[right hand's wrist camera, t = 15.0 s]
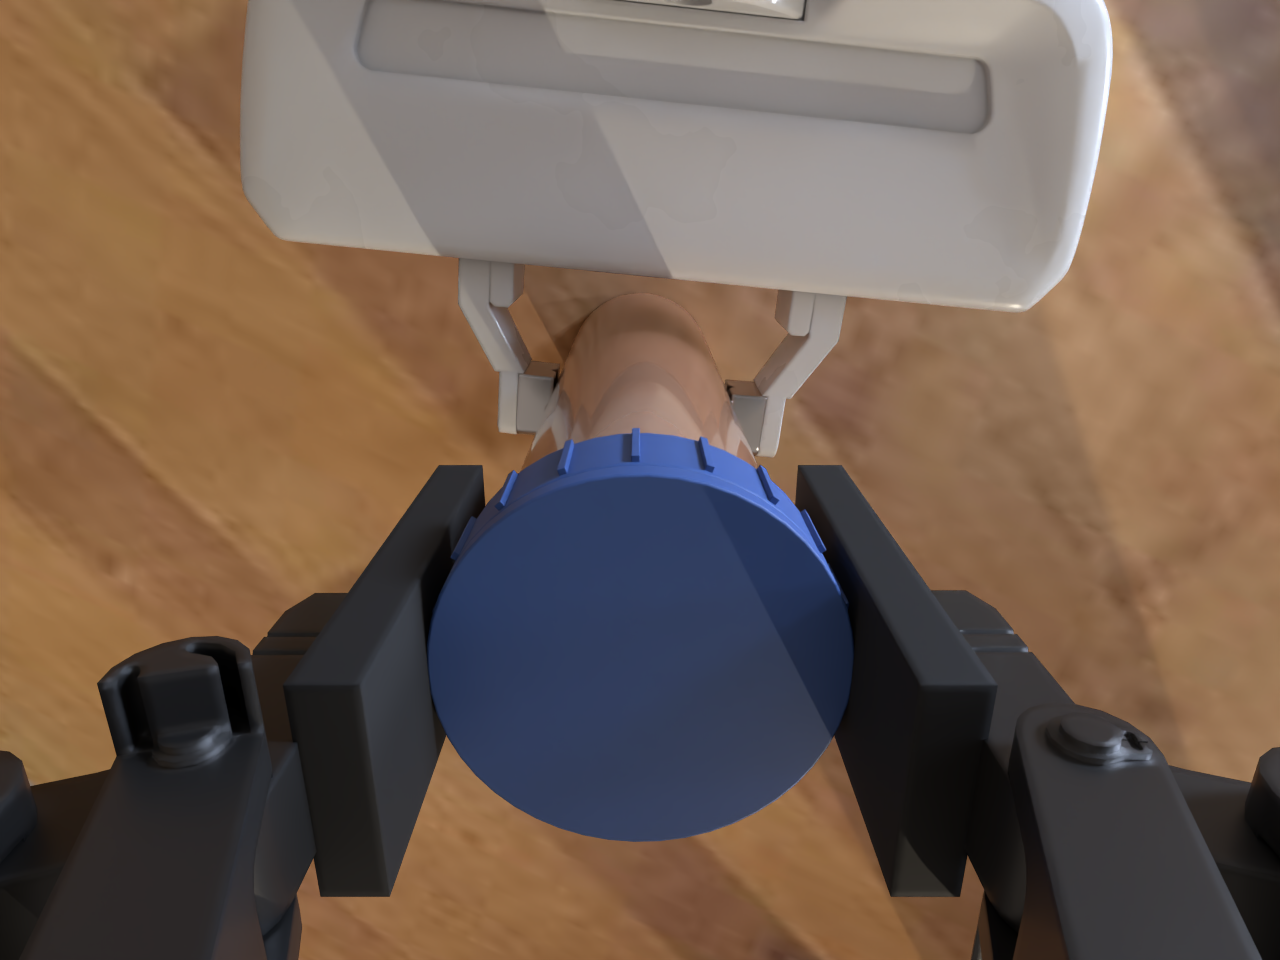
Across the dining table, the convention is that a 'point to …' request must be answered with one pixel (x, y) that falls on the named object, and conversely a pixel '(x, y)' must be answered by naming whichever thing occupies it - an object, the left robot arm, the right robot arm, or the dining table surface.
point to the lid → (640, 640)
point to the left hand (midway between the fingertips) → (638, 440)
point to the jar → (640, 381)
